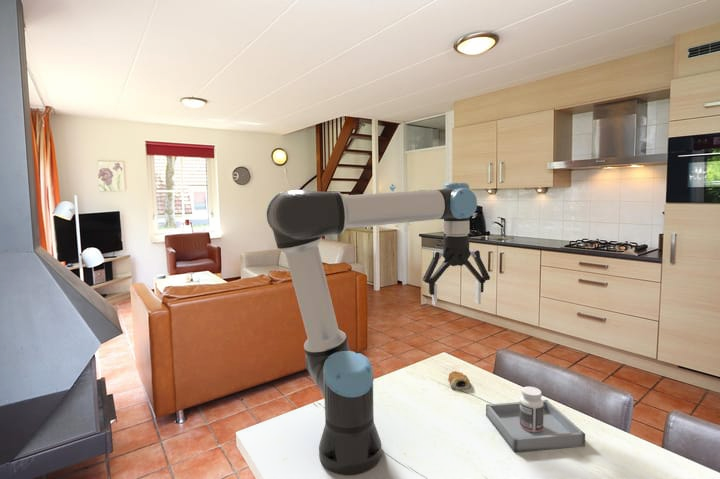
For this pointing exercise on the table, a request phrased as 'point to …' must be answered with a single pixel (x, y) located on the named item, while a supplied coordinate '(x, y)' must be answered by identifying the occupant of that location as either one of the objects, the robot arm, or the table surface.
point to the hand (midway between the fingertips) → (456, 304)
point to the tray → (552, 436)
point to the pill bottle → (531, 409)
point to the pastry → (458, 380)
